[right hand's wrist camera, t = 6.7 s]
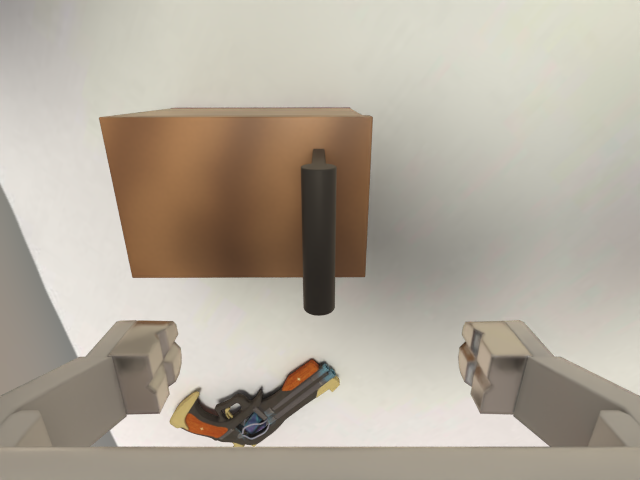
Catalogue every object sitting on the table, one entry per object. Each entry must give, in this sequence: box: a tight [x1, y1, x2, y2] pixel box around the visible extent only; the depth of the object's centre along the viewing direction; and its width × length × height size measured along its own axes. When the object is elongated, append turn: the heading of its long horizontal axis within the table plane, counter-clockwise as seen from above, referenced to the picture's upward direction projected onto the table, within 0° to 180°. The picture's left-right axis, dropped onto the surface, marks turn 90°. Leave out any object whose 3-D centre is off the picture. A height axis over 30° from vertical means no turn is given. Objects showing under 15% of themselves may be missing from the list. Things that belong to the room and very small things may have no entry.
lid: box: [99, 115, 373, 316], centre depth 21 cm, size 16×10×8 cm, turn 90°
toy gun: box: [170, 360, 340, 447], centre depth 44 cm, size 3×19×10 cm
